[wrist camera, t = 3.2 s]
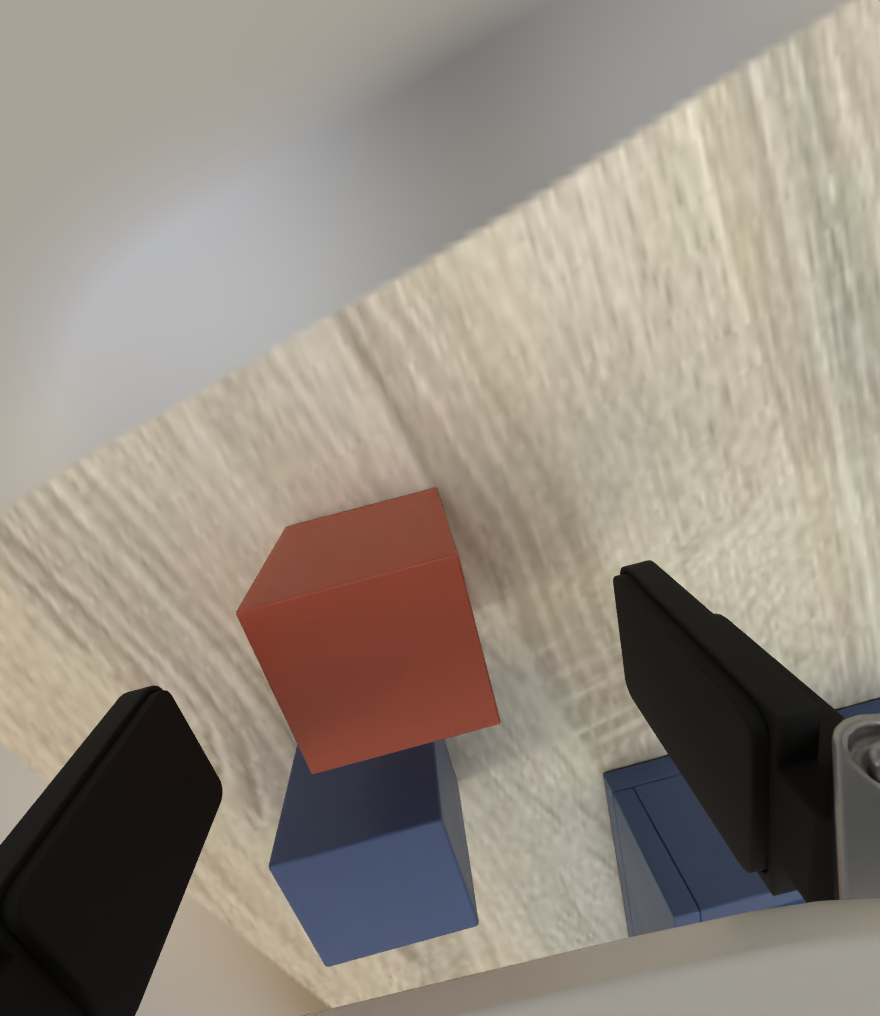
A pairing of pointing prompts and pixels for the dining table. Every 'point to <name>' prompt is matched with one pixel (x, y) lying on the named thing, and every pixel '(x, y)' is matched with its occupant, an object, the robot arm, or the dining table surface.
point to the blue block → (375, 853)
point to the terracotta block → (369, 633)
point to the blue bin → (680, 851)
